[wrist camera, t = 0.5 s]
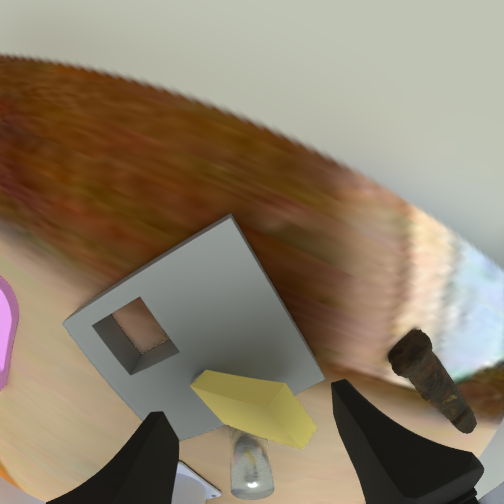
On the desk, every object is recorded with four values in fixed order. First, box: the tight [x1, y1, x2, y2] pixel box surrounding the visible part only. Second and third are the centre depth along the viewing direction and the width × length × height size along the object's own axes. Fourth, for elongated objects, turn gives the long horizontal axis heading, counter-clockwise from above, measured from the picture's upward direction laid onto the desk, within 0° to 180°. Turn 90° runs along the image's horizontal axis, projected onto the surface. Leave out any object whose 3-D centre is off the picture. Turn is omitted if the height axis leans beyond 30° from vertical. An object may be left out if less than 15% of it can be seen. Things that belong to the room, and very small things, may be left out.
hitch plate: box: [62, 213, 325, 441], centre depth 20 cm, size 14×13×3 cm
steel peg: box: [230, 426, 274, 500], centre depth 20 cm, size 3×3×8 cm
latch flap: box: [190, 370, 317, 450], centre depth 16 cm, size 8×4×2 cm
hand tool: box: [388, 330, 477, 434], centre depth 23 cm, size 19×4×5 cm, turn 43°
